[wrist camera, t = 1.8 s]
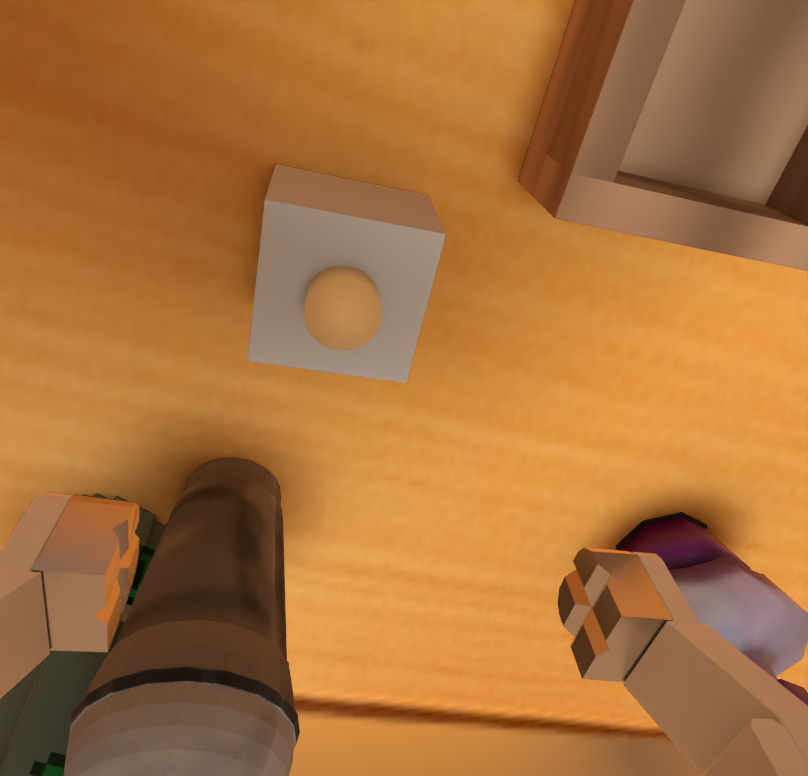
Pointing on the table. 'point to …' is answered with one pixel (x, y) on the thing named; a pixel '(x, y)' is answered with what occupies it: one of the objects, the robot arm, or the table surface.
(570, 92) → the box
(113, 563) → the robot arm
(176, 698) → the beverage cup
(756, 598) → the potion bottle
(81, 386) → the table surface
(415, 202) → the lid
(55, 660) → the can
